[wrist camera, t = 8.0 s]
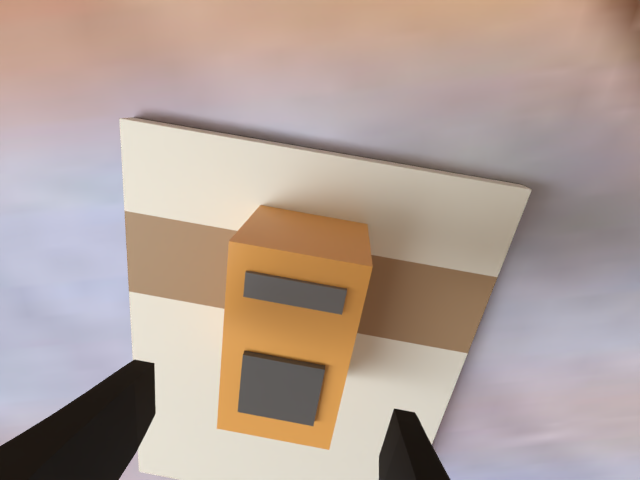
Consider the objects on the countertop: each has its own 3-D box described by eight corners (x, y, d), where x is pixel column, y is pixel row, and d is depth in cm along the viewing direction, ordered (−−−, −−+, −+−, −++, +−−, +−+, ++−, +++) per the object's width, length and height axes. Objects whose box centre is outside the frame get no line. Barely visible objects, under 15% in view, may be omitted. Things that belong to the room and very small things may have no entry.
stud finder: (367, 223, 16) (373, 270, 12) (334, 375, 20) (328, 455, 15) (260, 205, 16) (226, 243, 12) (245, 358, 20) (214, 433, 15)
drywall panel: (521, 184, 16) (531, 189, 15) (399, 506, 25) (401, 522, 24) (132, 117, 16) (119, 118, 15) (146, 458, 25) (139, 471, 24)
